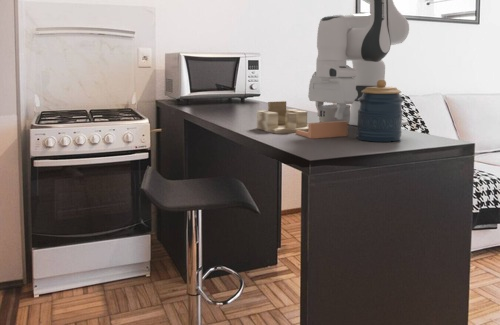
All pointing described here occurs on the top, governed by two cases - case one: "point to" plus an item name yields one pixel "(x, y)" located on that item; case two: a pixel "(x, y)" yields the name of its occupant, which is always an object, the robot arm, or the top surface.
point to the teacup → (331, 111)
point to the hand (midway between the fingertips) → (329, 117)
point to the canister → (380, 114)
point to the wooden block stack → (281, 119)
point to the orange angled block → (325, 129)
